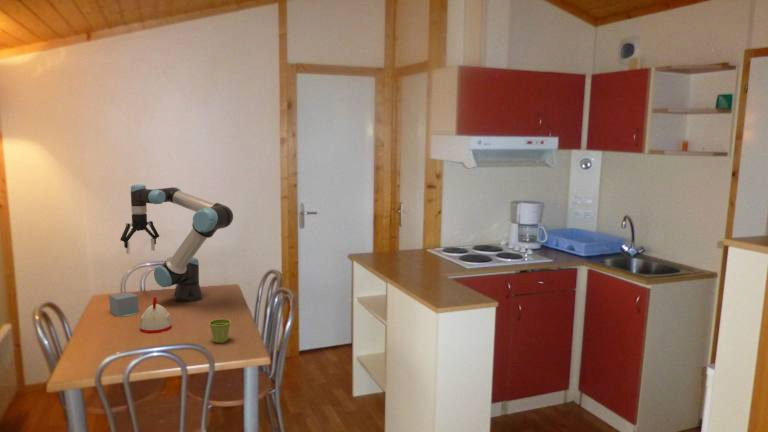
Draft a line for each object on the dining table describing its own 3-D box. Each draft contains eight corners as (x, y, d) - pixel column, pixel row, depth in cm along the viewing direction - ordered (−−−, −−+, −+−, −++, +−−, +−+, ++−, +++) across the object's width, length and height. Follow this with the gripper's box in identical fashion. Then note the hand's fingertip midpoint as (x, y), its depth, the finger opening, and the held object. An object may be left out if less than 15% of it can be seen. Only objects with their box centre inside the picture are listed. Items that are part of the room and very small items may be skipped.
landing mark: (144, 310, 295) (144, 310, 295) (128, 317, 284) (128, 317, 284) (123, 308, 298) (123, 308, 298) (107, 315, 287) (107, 315, 287)
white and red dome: (137, 334, 260) (136, 302, 258) (142, 325, 274) (140, 294, 272) (170, 332, 264) (169, 301, 262) (172, 323, 277) (171, 293, 275)
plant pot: (205, 340, 255) (205, 321, 253) (224, 335, 261) (224, 317, 260) (215, 346, 248) (215, 326, 247) (235, 341, 254) (234, 322, 253)
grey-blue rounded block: (138, 312, 292) (137, 295, 291) (118, 316, 285) (117, 299, 284) (130, 308, 299) (129, 291, 298) (110, 312, 292) (109, 295, 291)
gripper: (158, 210, 320) (159, 248, 323) (112, 214, 302) (114, 254, 305) (164, 212, 315) (166, 250, 318) (118, 216, 297) (120, 256, 300)
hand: (140, 252), depth 311 cm, fingers open, 13 cm apart
